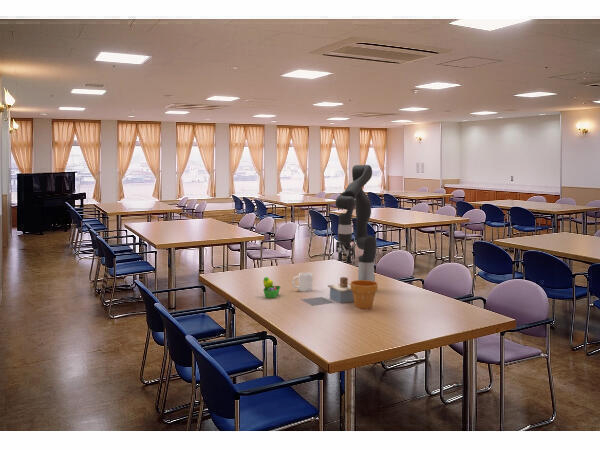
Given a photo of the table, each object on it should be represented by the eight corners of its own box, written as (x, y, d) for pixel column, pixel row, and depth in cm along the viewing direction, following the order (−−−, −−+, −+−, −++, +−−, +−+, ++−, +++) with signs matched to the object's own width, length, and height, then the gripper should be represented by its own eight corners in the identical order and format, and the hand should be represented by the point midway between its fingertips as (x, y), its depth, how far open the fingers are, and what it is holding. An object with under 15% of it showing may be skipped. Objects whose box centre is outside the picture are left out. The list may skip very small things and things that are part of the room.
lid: (347, 284, 303) (347, 274, 302) (360, 289, 292) (360, 278, 291) (327, 286, 297) (327, 276, 296) (340, 291, 286) (340, 281, 285)
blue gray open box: (346, 297, 303) (346, 285, 302) (357, 301, 293) (357, 289, 292) (329, 299, 297) (330, 286, 297) (340, 303, 288) (340, 291, 287)
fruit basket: (275, 299, 295) (276, 279, 294) (260, 298, 297) (260, 278, 296) (280, 294, 306) (280, 275, 305) (265, 293, 308) (266, 274, 307)
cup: (313, 291, 314) (313, 275, 313) (293, 292, 312) (293, 275, 310) (310, 288, 322) (310, 272, 321) (291, 289, 320) (291, 272, 318)
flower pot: (373, 311, 273) (374, 286, 272) (347, 308, 278) (347, 284, 276) (379, 304, 286) (380, 281, 285) (353, 302, 291) (354, 279, 290)
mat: (322, 297, 300) (322, 296, 300) (335, 303, 288) (335, 302, 288) (300, 300, 294) (300, 299, 294) (312, 306, 281) (312, 305, 281)
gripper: (357, 233, 286) (357, 263, 288) (343, 230, 299) (343, 259, 301) (346, 234, 283) (345, 264, 285) (332, 231, 295) (331, 260, 297)
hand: (344, 261), depth 293 cm, fingers open, 8 cm apart
